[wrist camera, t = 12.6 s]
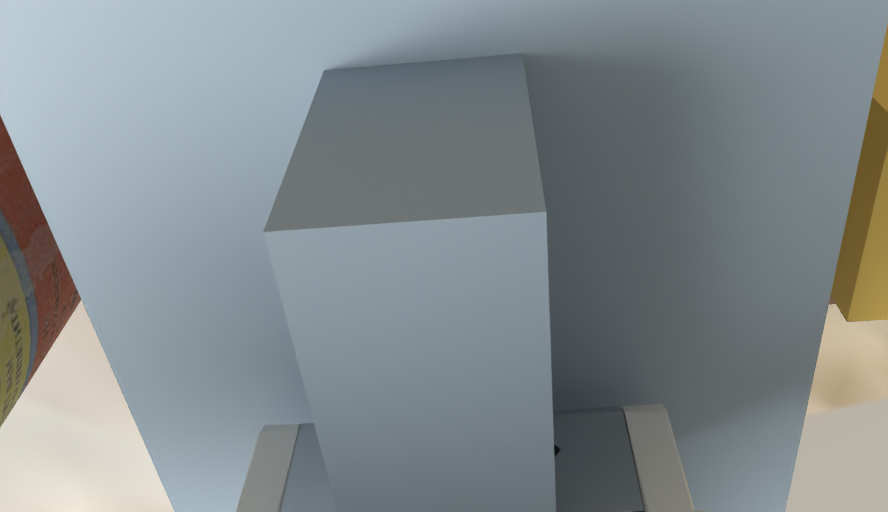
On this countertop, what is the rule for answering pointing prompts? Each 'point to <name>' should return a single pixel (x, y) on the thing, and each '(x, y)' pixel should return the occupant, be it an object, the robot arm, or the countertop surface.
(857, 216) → the yellow block
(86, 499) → the countertop surface
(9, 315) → the canned food
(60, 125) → the cover
